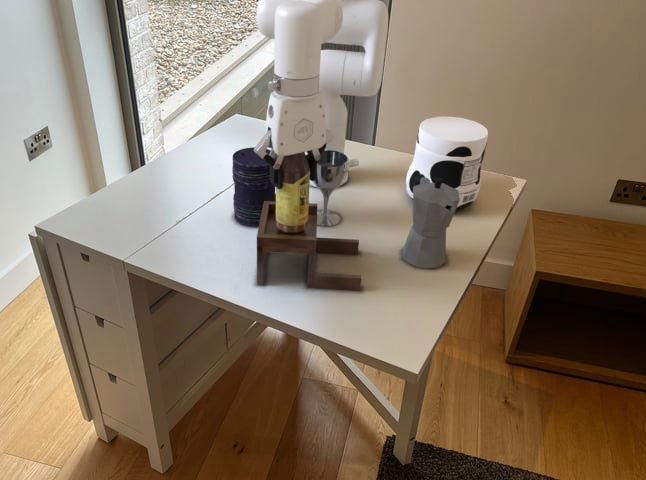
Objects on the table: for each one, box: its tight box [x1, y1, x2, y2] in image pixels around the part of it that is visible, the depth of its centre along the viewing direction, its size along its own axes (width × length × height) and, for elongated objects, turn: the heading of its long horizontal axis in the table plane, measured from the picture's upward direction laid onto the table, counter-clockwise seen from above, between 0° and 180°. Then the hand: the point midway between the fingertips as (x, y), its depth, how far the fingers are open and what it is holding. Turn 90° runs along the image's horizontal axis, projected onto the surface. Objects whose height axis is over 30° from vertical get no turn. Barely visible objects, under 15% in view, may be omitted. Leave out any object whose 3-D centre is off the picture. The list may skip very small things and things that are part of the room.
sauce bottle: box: [275, 152, 311, 233], centre depth 108 cm, size 7×6×20 cm
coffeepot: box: [402, 174, 460, 270], centre depth 118 cm, size 15×9×18 cm, turn 13°
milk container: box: [405, 115, 489, 211], centre depth 138 cm, size 17×17×18 cm
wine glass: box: [313, 150, 348, 227], centre depth 131 cm, size 8×8×15 cm
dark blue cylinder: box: [231, 146, 276, 228], centre depth 131 cm, size 10×10×15 cm
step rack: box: [256, 201, 362, 292], centre depth 116 cm, size 20×14×11 cm
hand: (293, 181), depth 108 cm, fingers closed on sauce bottle, 6 cm apart
